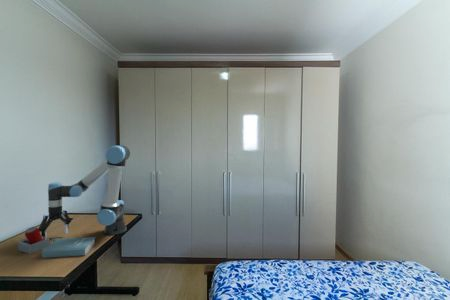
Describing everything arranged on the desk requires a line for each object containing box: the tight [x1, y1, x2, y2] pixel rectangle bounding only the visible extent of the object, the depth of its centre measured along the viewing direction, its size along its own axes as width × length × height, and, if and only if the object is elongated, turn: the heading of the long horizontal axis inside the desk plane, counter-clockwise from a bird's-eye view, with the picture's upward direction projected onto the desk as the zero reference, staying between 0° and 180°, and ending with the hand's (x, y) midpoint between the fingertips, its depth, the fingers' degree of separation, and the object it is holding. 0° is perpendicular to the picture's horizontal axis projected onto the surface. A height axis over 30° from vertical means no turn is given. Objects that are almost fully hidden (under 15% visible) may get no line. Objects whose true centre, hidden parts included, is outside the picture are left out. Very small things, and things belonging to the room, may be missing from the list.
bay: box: [17, 237, 59, 255], centre depth 149 cm, size 14×15×5 cm
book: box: [41, 236, 96, 259], centre depth 145 cm, size 23×16×5 cm
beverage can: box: [24, 226, 43, 245], centre depth 147 cm, size 7×7×12 cm
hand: (55, 237), depth 159 cm, fingers open, 13 cm apart
